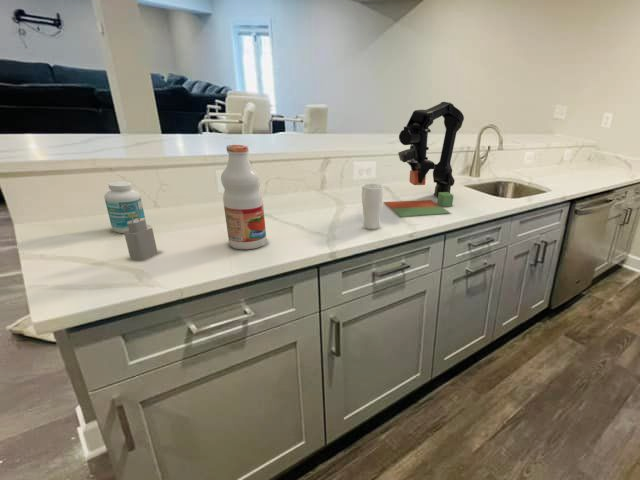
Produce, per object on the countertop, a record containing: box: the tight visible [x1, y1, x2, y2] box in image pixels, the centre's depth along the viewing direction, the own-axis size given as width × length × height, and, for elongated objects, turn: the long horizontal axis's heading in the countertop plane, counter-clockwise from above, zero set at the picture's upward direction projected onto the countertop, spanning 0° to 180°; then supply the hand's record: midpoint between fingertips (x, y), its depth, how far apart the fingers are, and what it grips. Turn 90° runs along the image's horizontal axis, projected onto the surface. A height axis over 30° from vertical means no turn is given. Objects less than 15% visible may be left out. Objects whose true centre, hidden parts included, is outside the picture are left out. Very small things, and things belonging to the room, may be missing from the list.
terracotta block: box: [409, 170, 427, 186], centre depth 161 cm, size 5×5×5 cm
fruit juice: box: [220, 144, 267, 250], centre depth 106 cm, size 9×9×28 cm
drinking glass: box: [361, 183, 383, 230], centre depth 133 cm, size 7×7×15 cm
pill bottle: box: [104, 181, 147, 234], centre depth 107 cm, size 8×7×14 cm
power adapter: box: [123, 210, 159, 262], centre depth 95 cm, size 3×5×12 cm, turn 177°
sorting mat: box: [384, 199, 451, 218], centre depth 162 cm, size 22×18×1 cm
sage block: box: [437, 192, 454, 207], centre depth 171 cm, size 5×5×5 cm
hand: (417, 181), depth 161 cm, fingers closed on terracotta block, 5 cm apart
